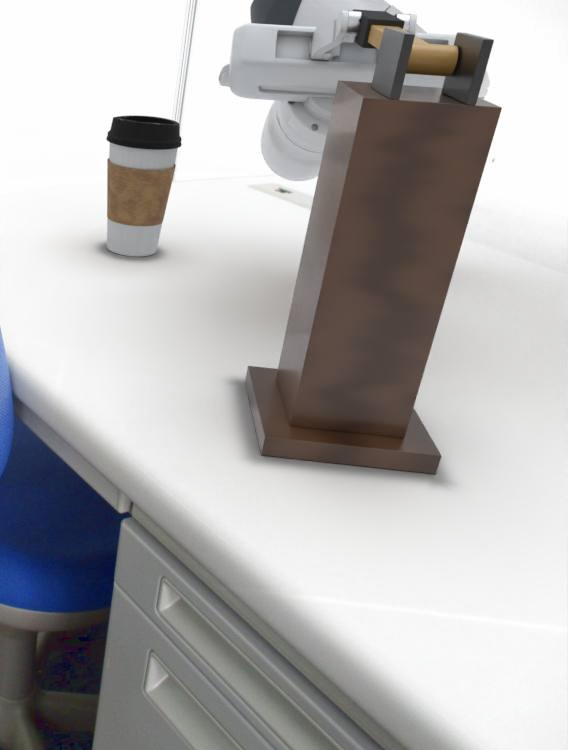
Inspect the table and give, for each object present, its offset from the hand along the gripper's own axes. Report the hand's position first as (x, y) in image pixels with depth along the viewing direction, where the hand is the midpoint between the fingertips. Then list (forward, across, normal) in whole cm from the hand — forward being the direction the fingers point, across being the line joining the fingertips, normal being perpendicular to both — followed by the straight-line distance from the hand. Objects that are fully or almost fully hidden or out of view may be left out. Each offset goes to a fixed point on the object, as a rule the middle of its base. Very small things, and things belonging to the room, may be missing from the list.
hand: (379, 21), depth 65 cm
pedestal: (-2, 0, +30) cm, 30 cm away
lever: (+3, 0, +4) cm, 5 cm away
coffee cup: (-37, -16, +11) cm, 42 cm away
